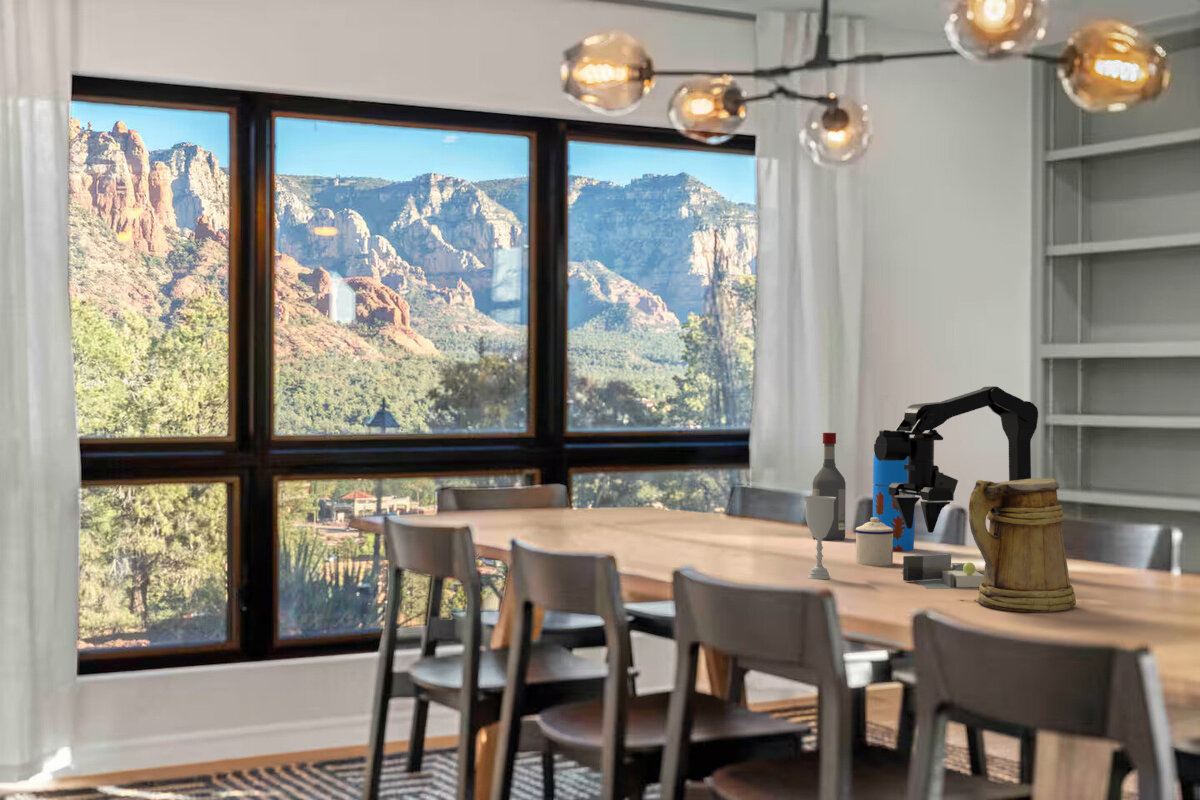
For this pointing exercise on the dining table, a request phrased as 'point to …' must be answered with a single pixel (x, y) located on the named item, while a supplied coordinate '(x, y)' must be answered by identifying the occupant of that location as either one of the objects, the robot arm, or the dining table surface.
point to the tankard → (1021, 545)
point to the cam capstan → (929, 566)
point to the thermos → (891, 501)
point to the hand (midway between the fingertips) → (919, 530)
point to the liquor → (832, 487)
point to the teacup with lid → (874, 544)
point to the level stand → (943, 582)
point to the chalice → (819, 528)
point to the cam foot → (967, 576)
